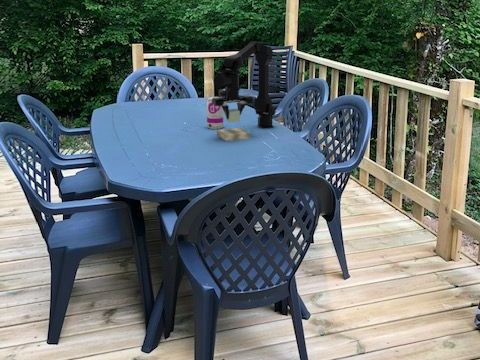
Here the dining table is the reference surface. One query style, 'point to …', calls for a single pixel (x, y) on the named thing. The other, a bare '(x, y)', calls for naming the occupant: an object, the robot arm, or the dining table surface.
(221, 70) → the robot arm
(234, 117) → the cube
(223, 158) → the dining table surface
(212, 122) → the supplement can
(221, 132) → the base slab
